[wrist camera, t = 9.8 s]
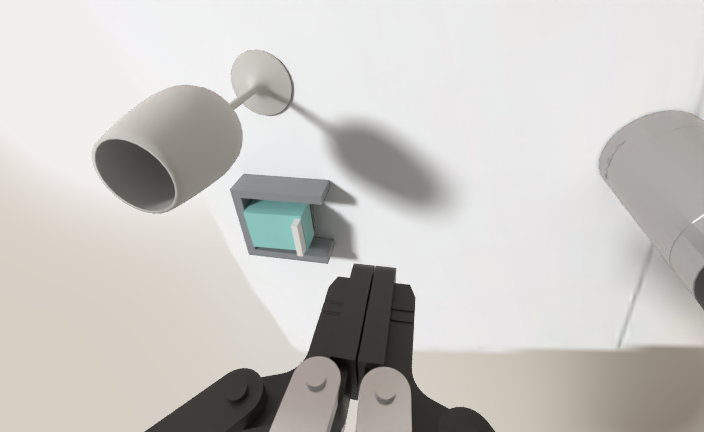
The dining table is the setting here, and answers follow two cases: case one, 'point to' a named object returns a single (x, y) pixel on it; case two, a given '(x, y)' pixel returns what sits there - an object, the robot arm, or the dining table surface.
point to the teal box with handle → (280, 224)
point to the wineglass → (186, 136)
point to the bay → (285, 192)
